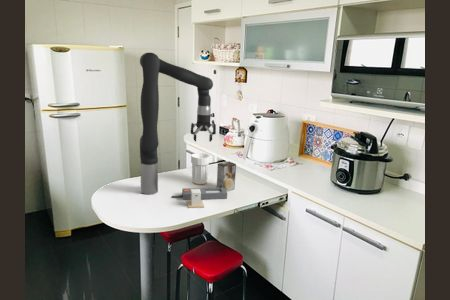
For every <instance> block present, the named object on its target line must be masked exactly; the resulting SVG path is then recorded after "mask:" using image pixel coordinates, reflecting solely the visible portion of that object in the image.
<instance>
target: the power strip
mask: <svg viewBox="0 0 450 300" xmlns="http://www.w3.org/2000/svg"><path fill="white" fill-rule="evenodd" d="M191 189H200V191H201V200H202V201H203V200H204V201H207V200H227V199H228V191H227V192H226V190H225V188H217V187H197V188H196V187H191V188H190V187H189V188H187V187H186V188H182V189H181V190H182V192H181V195H171V198H172V199H173V198H178V199H179V198H182V201H187V200H191Z"/></svg>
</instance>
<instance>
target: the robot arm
mask: <svg viewBox="0 0 450 300" xmlns="http://www.w3.org/2000/svg"><path fill="white" fill-rule="evenodd" d="M139 64H140V66H141V68H142V79H143V80H142V86H141V91H140V92H141V93H140V115H141V121H142V135H141V136H140V139H139V157H140V194H143V193H144V195H153V194H154V195H155V194H157V193H158V192H159V188H158V187H159V185H158V184H159V178H158V177H159V170H158V169H159V165H158V164H159V162H158V161H159V158H158V147H159V135H158V122H159V121H158V120H159V109H160V96H159V92H160V91H159V74H162V75H165V76H168V77H169V78H172V79H175V80H176V81H179V82H182V83H185V84H187V85H190V86H194V87H196V88H197V95H198V97H197V111H196V114H197V115H196V123H195V122H194V123H193V122H191V123H190V124H191V125H190V135H193V141H194V142H197V134H199V132H208V133H209V134H208V135H209V137H208V139H209V140H208V141H209V142H212V141H213V136H214V135H216V134H217V133H216V132H217V131H216V130H217V128H216V123H211V115H212V114H211V111H212V109H211V102H212V101H211V100H212V99H211V95H210V90H212V88H213V86H214V82H213V80H212V79H211V78H210V77H209V76H208V77H207V76H204V75H203V74H202V75H201V74H198V73H196V72H194V71H192V70H189V69H187V68H184V67H181V66H178V65H176V64H171V63H169V62H167V61H164V60H163V59H161V58H159V56H158V54H156V53H154V52H145V53H143V54H142V55H141V56H140V59H139ZM195 127H196V129H195ZM210 128H212V131H211V130H210ZM194 129H195V130H194Z"/></svg>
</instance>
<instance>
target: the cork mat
mask: <svg viewBox="0 0 450 300" xmlns="http://www.w3.org/2000/svg"><path fill="white" fill-rule="evenodd" d="M186 201H187V202H186V203H187V207H188V209H198V208H199V209H201V208H202V209H203V208H205V204H204V201H203V200H201V205H191V200H186Z"/></svg>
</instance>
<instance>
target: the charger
mask: <svg viewBox="0 0 450 300" xmlns="http://www.w3.org/2000/svg"><path fill="white" fill-rule="evenodd" d="M191 205H201V191H200V189H191Z"/></svg>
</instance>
